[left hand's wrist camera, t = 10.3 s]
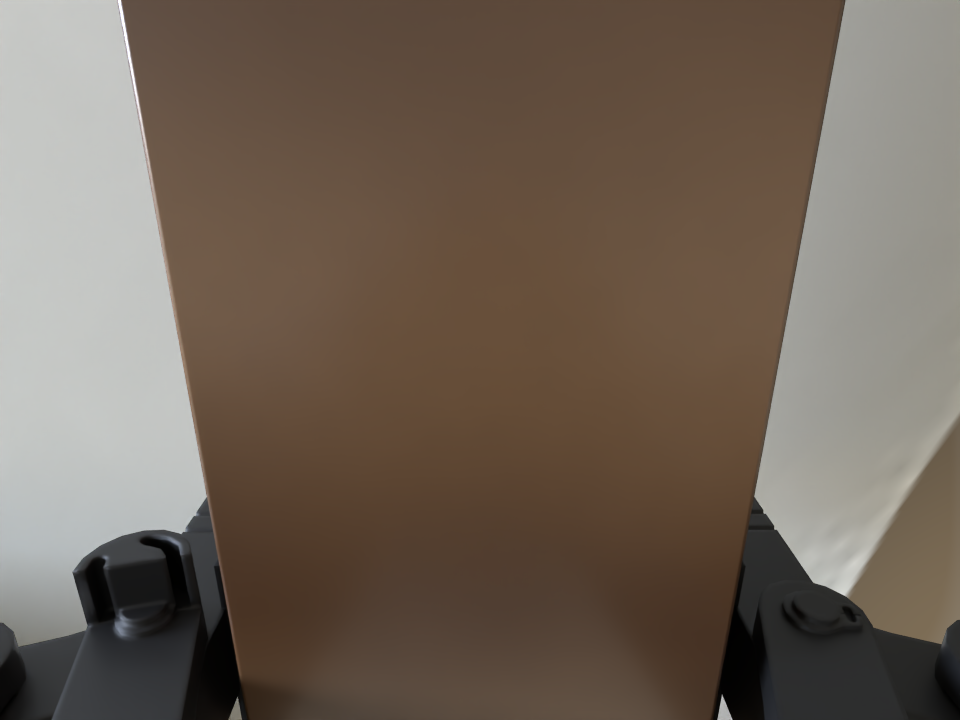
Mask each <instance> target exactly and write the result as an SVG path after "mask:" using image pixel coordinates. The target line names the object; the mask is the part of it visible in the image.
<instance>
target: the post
mask: <svg viewBox="0 0 960 720" xmlns="http://www.w3.org/2000/svg"><path fill="white" fill-rule="evenodd" d="M117 2H118V7H119V13H120V18H121V24H122V29H123V35H124V40H125V46H126V51H127V57H128V62H129V68H130V74H131V79H132V85H133V90H134V96H135V101H136V107H137V112H138V118H139V123H140V129H141V134H142V140H143V145H144V151H145V157H146V162H147V168H148V173H149V179H150V184H151V190H152V195H153V201H154V206H155V212H156V217H157V223H158V228H159V234H160V239H161V245H162V251H163V256H164V262H165V267H166V273H167V278H168V284H169V289H170V295H171V300H172V306H173V311H174V317H175V322H176V328H177V334H178V339H179V345H180V350H181V356H182V361H183V367H184V372H185V378H186V383H187V389H188V394H189V400H190V405H191V411H192V417H193V422H194V428H195V433H196V439H197V444H198V450H199V455H200V461H201V466H202V472H203V477H204V483H205V488H206V494H207V500H208V505H209V511H210V516H211V522H212V527H213V533H214V538H215V544H216V549H217V555H218V560H219V566H220V571H221V577H222V583H223V588H224V594H225V599H226V605H227V610H228V616H229V621H230V627H231V632H232V638H233V643H234V649H235V654H236V660H237V666H238V671H239V677H240V682H241V688H242V693H243V699H244V704H245V710H246V715H247V720H713V717H714V712H715V706H716V701H717V695H718V690H719V685H720V679H721V674H722V668H723V663H724V657H725V652H726V647H727V641H728V636H729V630H730V625H731V619H732V614H733V608H734V603H735V598H736V592H737V587H738V581H739V576H740V570H741V565H742V559H743V554H744V549H745V543H746V538H747V532H748V527H749V521H750V516H751V511H752V505H753V500H754V494H755V489H756V483H757V478H758V472H759V467H760V462H761V456H762V451H763V445H764V440H765V434H766V429H767V424H768V418H769V413H770V407H771V402H772V396H773V391H774V385H775V380H776V375H777V369H778V364H779V358H780V353H781V347H782V342H783V337H784V331H785V326H786V320H787V315H788V309H789V304H790V298H791V293H792V288H793V282H794V277H795V271H796V266H797V260H798V255H799V250H800V244H801V239H802V233H803V228H804V222H805V217H806V211H807V206H808V201H809V195H810V190H811V184H812V179H813V173H814V168H815V163H816V157H817V152H818V146H819V141H820V135H821V130H822V124H823V119H824V114H825V108H826V103H827V97H828V92H829V86H830V81H831V75H832V70H833V65H834V59H835V54H836V48H837V43H838V37H839V32H840V27H841V21H842V16H843V10H844V5H845V0H117Z"/></svg>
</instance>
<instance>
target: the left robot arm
mask: <svg viewBox="0 0 960 720" xmlns="http://www.w3.org/2000/svg"><path fill="white" fill-rule="evenodd" d="M73 576H74V579H75V583H76V586H77V590H78V593H79V597H80V600H81V604H82V607H83V611H84V614H85V618H86V621H87V625H88V627H87V630H86V631H83V632H79V633H76V634H73V635H69V636H65V637H61V638H56V639H52V640H48V641H43V642H39V643H34V644H30V645H26V646H21V647H18V644H17V641H16V638H15V635H14V632H13V631H12V630H11V629H10V628H8V627H7V626H6V625H5V624H4V623H0V720H228V719H229V716H230V714H231V711H232V709H233V707H234V704H235V702H236V699H237V697H238V700H239V705H240V710H241V716H242V720H247V715H246V710H245V704H244V699H243V693H242V688H241V682H240V677H239V671H238V666H237V660H236V654H235V649H234V643H233V638H232V632H231V627H230V621H229V616H228V610H227V605H226V599H225V594H224V588H223V583H222V577H221V571H220V566H219V560H218V555H217V549H216V544H215V538H214V533H213V527H212V522H211V516H210V511H209V505H208V500H207V498H206V499H205V501H204V502H203V504H202V505H201V507H200V508H199V510H198V511H197V515H196V516H194V517H193V518H192V520H191V521H190V523H189V524H188V526H187V527H186V532H183V533H182V534H179V533H175V532H171V531H166V530H149V531H141V532H137V533H133V534H128V535H124V536H121V537H119V538H116V539H114V540H112V541H110V542H108V543H105V544H103V545H101V546H99V547H98V548H97V549H95V550H94V551H92V552H91V553H90V554H88V555H87V556H86V557H84V558H83V559H82V560H81V562H80V563H79V564H78V566H77V567H76V568H75V570H74V571H73ZM722 695H723V697H724V700H725V702H726V705H727V707H728V709H729V712H730V714H731V717H732V719H733V720H960V620H957V621H956V622H954V623H953V624H952V625H951V626H950V627H948V628H947V630H946V633H945V636H944V639H943V642H942V644H937V643H933V642H929V641H924V640H920V639H915V638H911V637H907V636H902V635H898V634H893V633H890V632H886V631H883V630H879V629H876V628H873V626H872V624H871V623H870V621H869V619H868V618H867V616H866V615H865V613H864V612H863V610H861V609H860V608H859V607H858V606H857V605H855V604H854V603H853V602H852V601H850V600H849V599H848V598H847V597H845V596H843V595H841V594H839V593H837V592H836V591H834V590H832V589H830V588H828V587H825V586H822V585H818V584H815V583H813V582H812V580H811V579H810V578H809V576H808V575H807V573H806V572H805V570H804V569H803V567H802V566H801V564H800V563H799V562H798V560H797V559H796V557H795V556H794V554H793V553H792V551H791V550H790V548H789V547H788V546H787V544H786V543H785V541H784V540H783V538H782V537H781V535H780V534H779V532H778V531H777V530H774V525H773V524H772V522H771V521H770V519H769V518H768V516H767V515H766V514H763V509H762V508H761V506H760V505H759V503H758V502H757V500H756V499H755V497H754V500H753V505H752V511H751V516H750V521H749V527H748V532H747V538H746V543H745V549H744V554H743V559H742V565H741V570H740V576H739V581H738V587H737V592H736V598H735V603H734V608H733V614H732V619H731V625H730V630H729V636H728V641H727V647H726V652H725V657H724V663H723V668H722V674H721V679H720V685H719V690H718V695H717V701H716V706H715V712H714V717H713V720H717V718H718V713H719V708H720V702H721V697H722Z"/></svg>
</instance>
